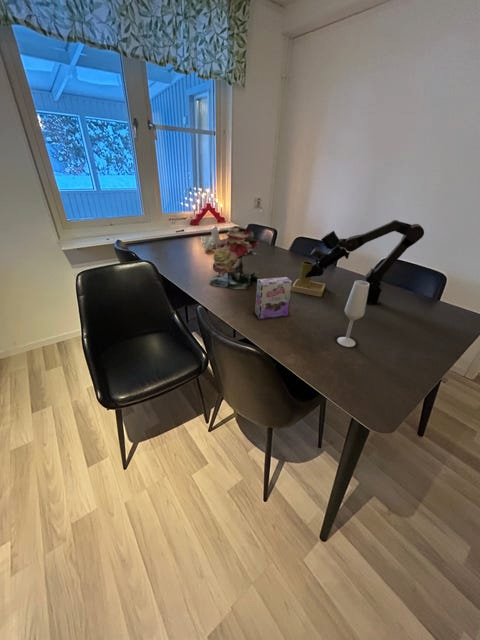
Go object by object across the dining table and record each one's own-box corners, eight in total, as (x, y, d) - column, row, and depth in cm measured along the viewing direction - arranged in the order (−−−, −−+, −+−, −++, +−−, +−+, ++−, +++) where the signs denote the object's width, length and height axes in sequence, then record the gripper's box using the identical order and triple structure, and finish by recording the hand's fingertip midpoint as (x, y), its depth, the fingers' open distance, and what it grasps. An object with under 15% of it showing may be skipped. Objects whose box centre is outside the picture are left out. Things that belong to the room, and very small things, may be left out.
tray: (324, 288, 148) (325, 283, 146) (321, 296, 138) (322, 291, 137) (296, 283, 153) (297, 278, 151) (291, 291, 144) (291, 286, 142)
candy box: (258, 319, 117) (261, 283, 108) (254, 313, 121) (256, 278, 113) (288, 316, 120) (293, 281, 112) (283, 310, 125) (287, 276, 117)
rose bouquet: (224, 269, 169) (223, 219, 154) (266, 279, 156) (270, 225, 141) (198, 282, 150) (195, 226, 135) (243, 295, 137) (246, 234, 122)
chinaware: (198, 244, 223) (195, 224, 215) (218, 241, 227) (215, 221, 218) (205, 254, 200) (201, 231, 192) (227, 251, 204) (224, 228, 195)
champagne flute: (351, 336, 107) (367, 279, 95) (358, 346, 101) (376, 287, 89) (334, 336, 106) (348, 279, 94) (340, 346, 101) (356, 286, 89)
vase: (309, 291, 143) (313, 265, 136) (297, 290, 144) (301, 263, 137) (309, 286, 148) (313, 261, 141) (297, 285, 149) (301, 260, 142)
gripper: (326, 238, 139) (301, 256, 148) (320, 247, 124) (293, 266, 133) (338, 256, 140) (313, 273, 150) (334, 266, 126) (306, 284, 135)
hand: (307, 273), depth 142 cm, fingers open, 9 cm apart
